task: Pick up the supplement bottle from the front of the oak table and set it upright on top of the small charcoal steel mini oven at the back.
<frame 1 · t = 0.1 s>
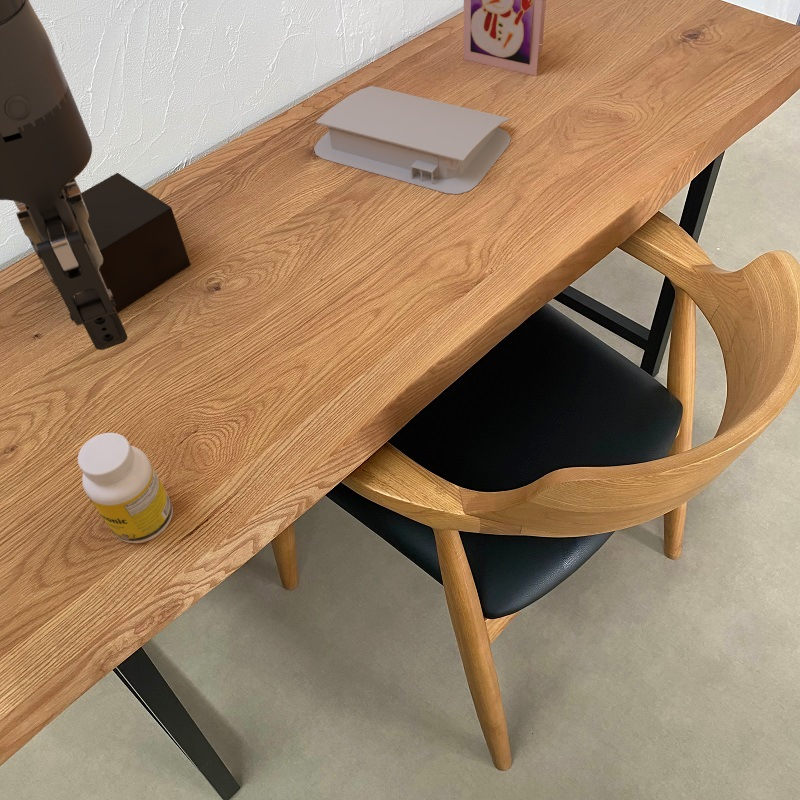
hand: (99, 305, 57), 20 cm above the table, tool pointing down, fingers open, 8 cm apart
supplement bottle: (143, 519, 69), on the table
miniature building model: (412, 144, 103), on the table
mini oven: (121, 274, 89), on the table
greeting card: (507, 59, 115), on the table
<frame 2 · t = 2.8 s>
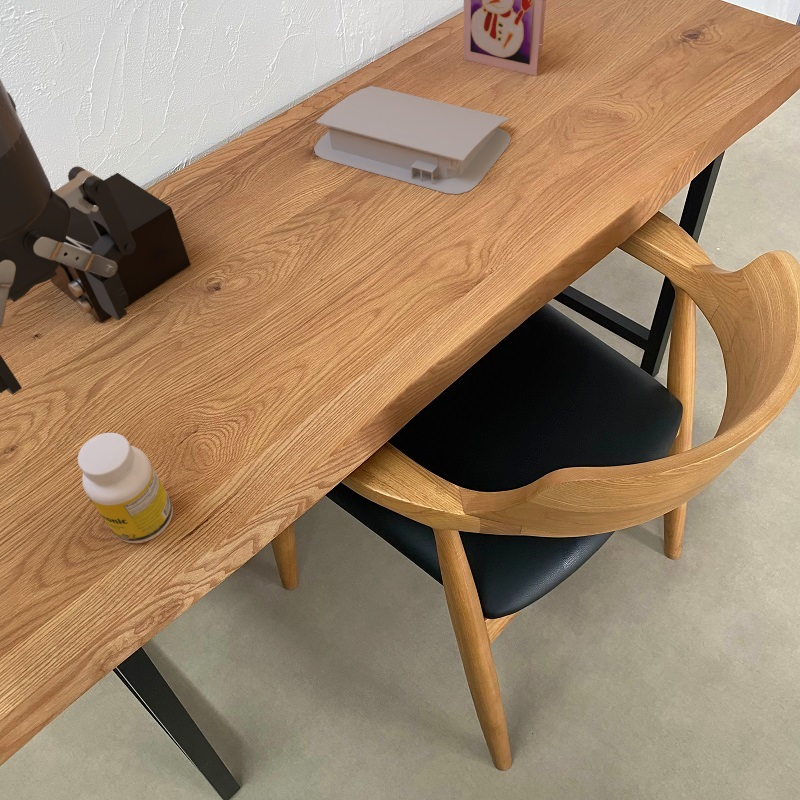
hand: (64, 348, 54), 20 cm above the table, tool pointing down, fingers open, 8 cm apart
nothing on the table moved.
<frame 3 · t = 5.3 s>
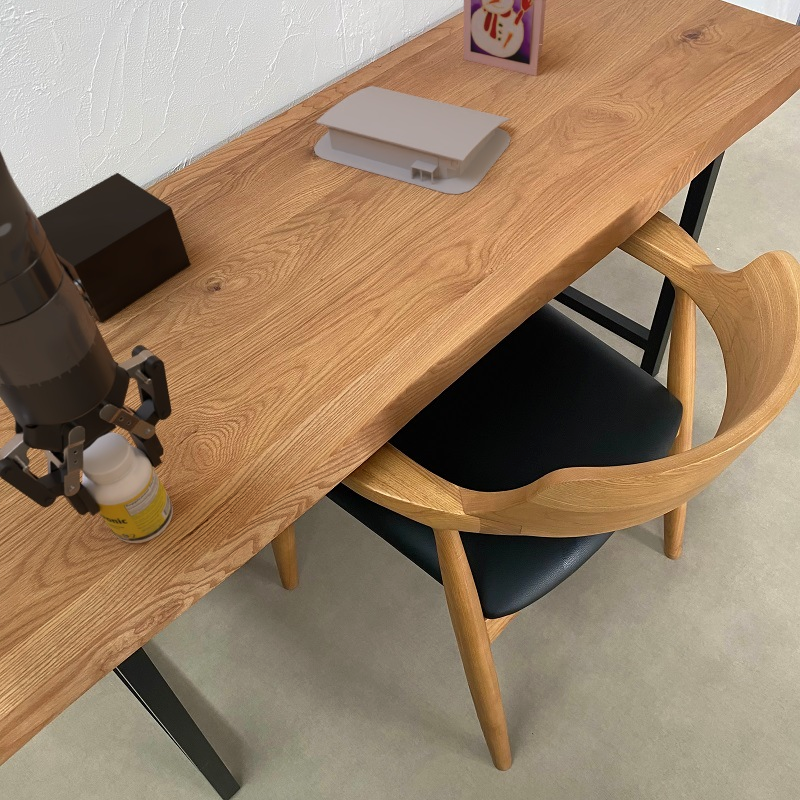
hand: (121, 483, 64), 5 cm above the table, tool pointing down, fingers closed on supplement bottle, 5 cm apart
supplement bottle: (143, 519, 69), on the table, touching gripper
everything else where it was.
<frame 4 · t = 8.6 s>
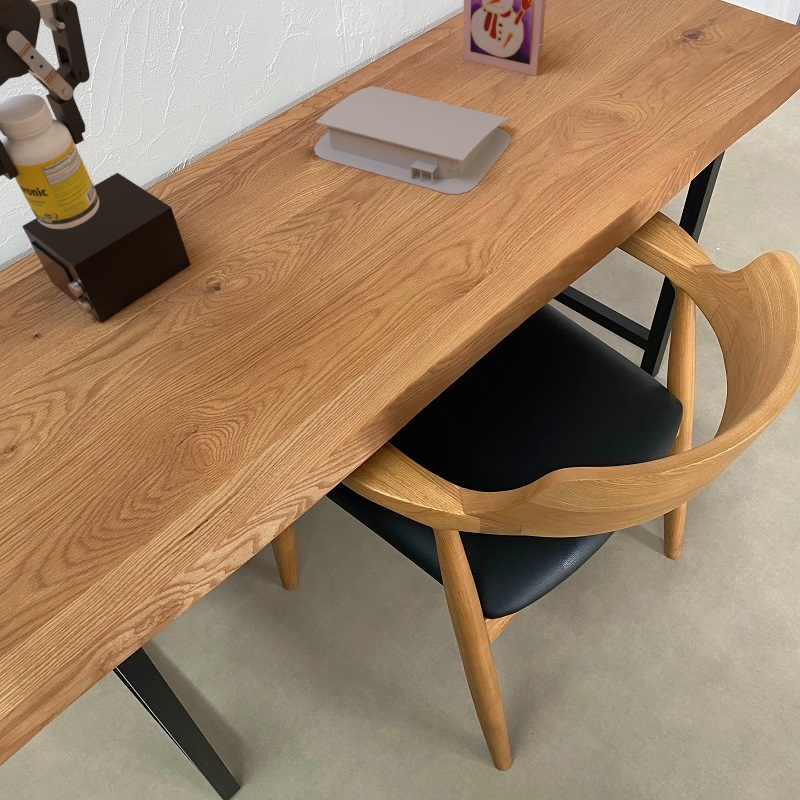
hand: (41, 156, 64), 23 cm above the table, tool pointing down, fingers closed on supplement bottle, 5 cm apart
supplement bottle: (70, 213, 68), point 17 cm above the table, touching gripper
everything else where it was.
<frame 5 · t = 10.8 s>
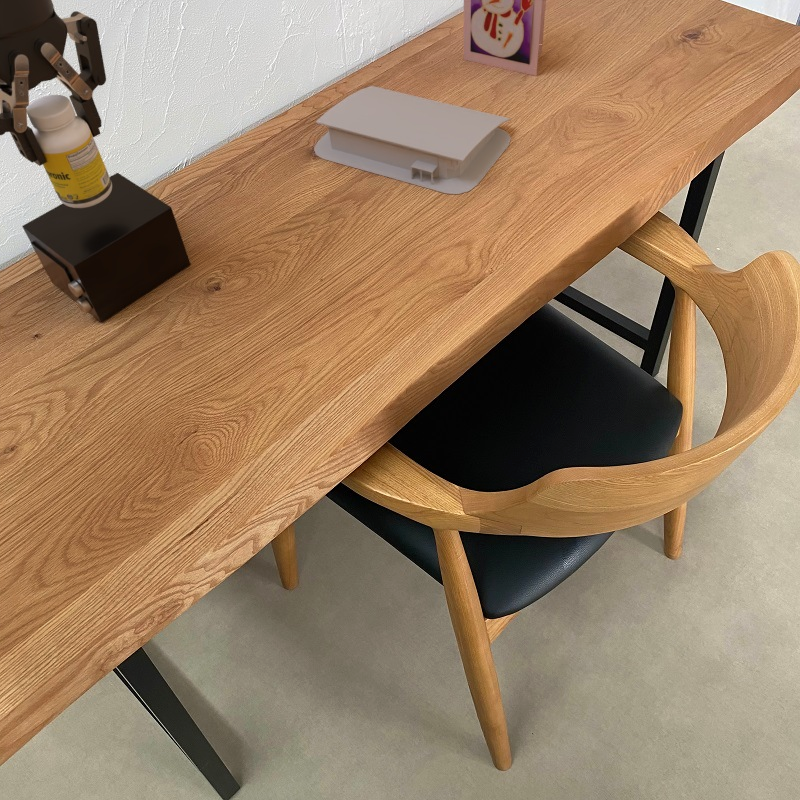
hand: (65, 146, 77), 16 cm above the table, tool pointing down, fingers closed on supplement bottle, 5 cm apart
supplement bottle: (87, 195, 81), point 11 cm above the table, touching gripper
everything else where it was.
when the fingers open (13 cm above the table, at t = 12.1 s): supplement bottle stays where it is, resting on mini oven.
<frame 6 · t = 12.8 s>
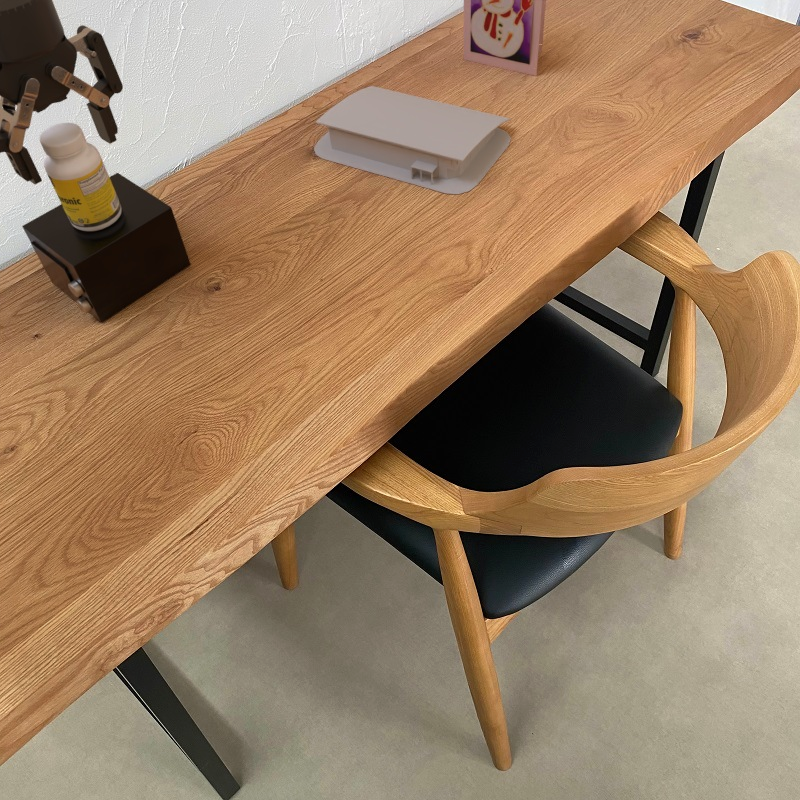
hand: (72, 159, 78), 15 cm above the table, tool pointing down, fingers open, 8 cm apart
supplement bottle: (97, 218, 83), point 8 cm above the table, touching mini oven
everything else where it was.
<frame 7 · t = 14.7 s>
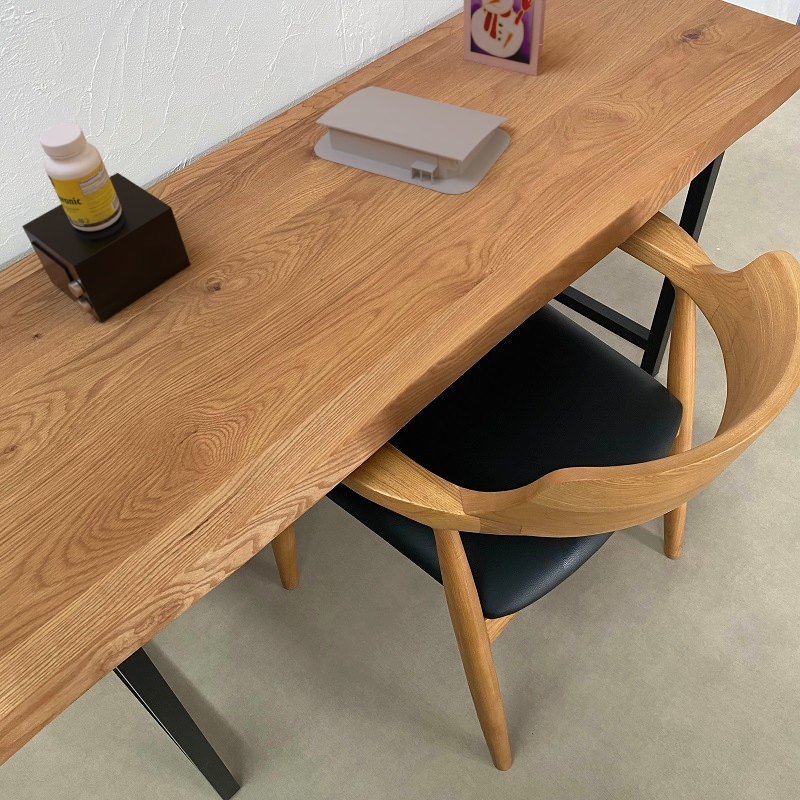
nothing on the table moved.
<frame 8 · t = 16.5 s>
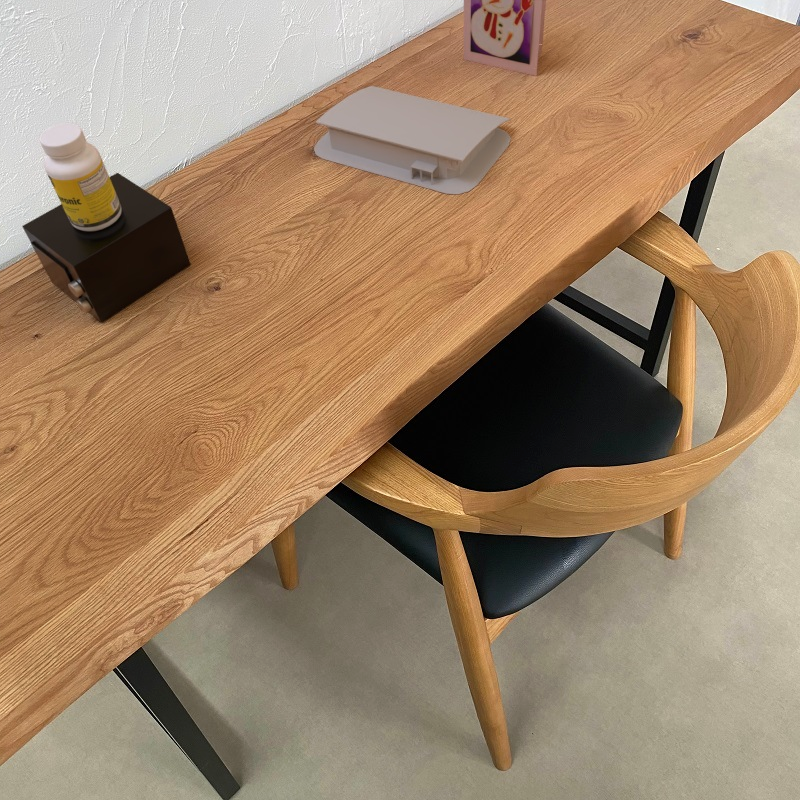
nothing on the table moved.
at the end: supplement bottle inside the target area on the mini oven (0.1 cm from its centre), point 7.8 cm above the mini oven's base; supplement bottle tilted 0°; the gripper is holding nothing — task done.
